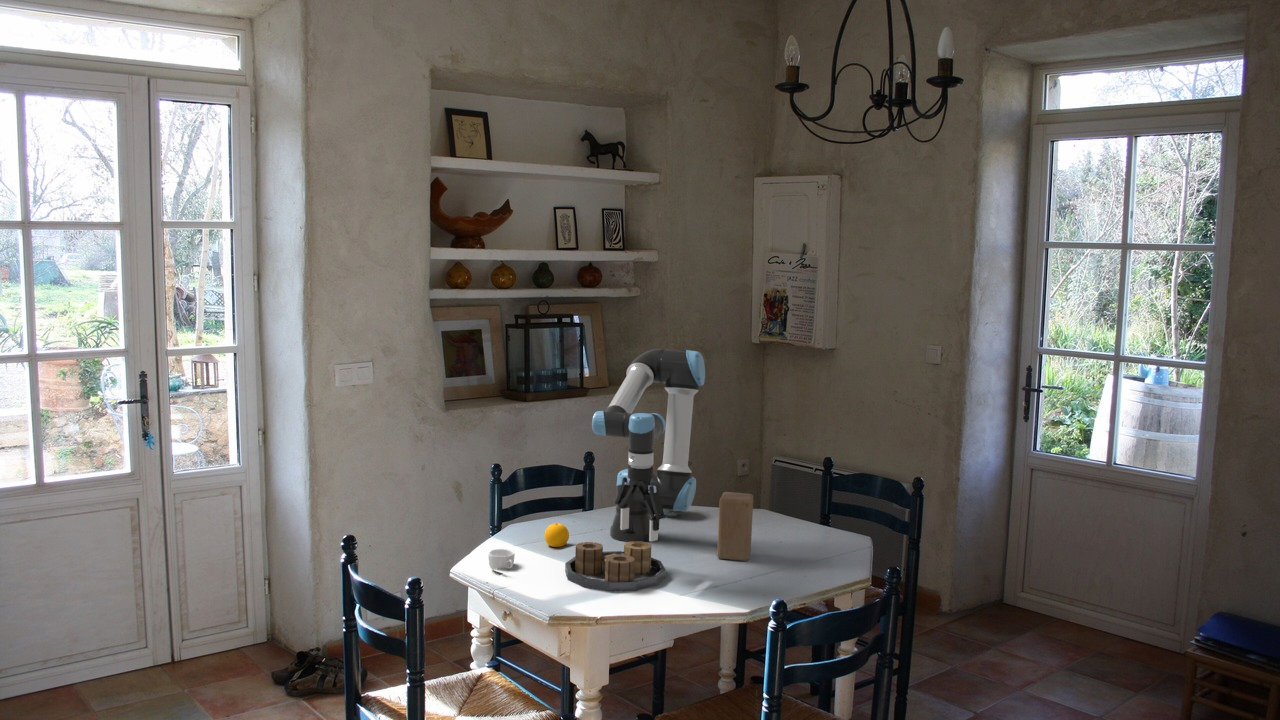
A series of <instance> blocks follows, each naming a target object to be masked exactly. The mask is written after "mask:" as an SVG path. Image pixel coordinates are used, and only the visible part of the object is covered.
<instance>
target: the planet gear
mask: <svg viewBox="0 0 1280 720" xmlns="http://www.w3.org/2000/svg"><path fill="white" fill-rule="evenodd" d="M623 552H624V555H629V556H632V557H633V558H634V559H635V569H634V573H636V574H640V573H642V574H643V573H647V572H649V571H650V569H651V558H652V544H651V543H650V542H647V541H635V542H634V541H625V542H624V548H623Z"/></svg>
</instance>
